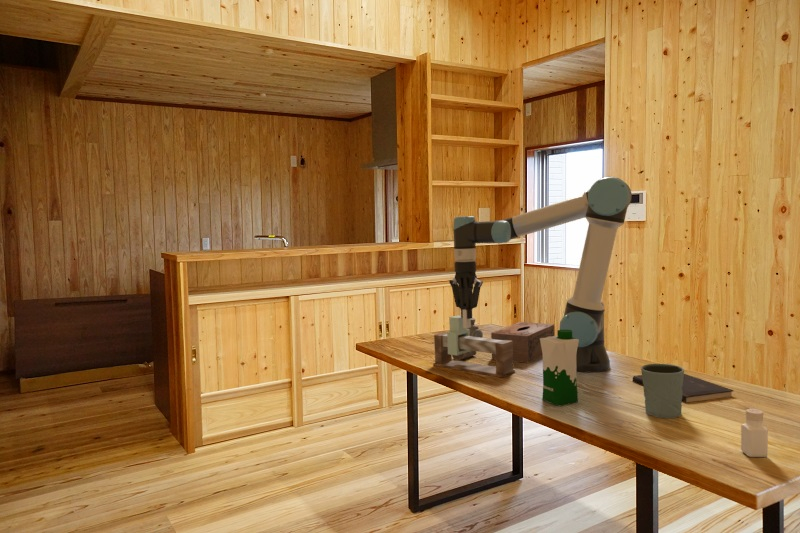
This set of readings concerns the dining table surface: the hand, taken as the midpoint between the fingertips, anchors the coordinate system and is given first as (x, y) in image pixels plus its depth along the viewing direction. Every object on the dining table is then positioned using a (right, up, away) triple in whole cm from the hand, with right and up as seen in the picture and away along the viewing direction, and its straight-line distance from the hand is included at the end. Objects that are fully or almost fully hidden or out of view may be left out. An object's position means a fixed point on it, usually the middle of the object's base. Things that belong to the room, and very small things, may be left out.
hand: (466, 327), depth 206 cm
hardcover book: (+60, -16, -32) cm, 70 cm away
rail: (+2, -14, 0) cm, 15 cm away
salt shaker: (+52, -19, -80) cm, 98 cm away
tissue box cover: (+24, -13, +20) cm, 34 cm away
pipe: (0, -13, +21) cm, 25 cm away
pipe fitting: (+7, -11, +47) cm, 48 cm away
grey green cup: (+45, -17, -52) cm, 71 cm away
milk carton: (+22, -17, -39) cm, 48 cm away
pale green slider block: (-2, -9, +3) cm, 10 cm away
